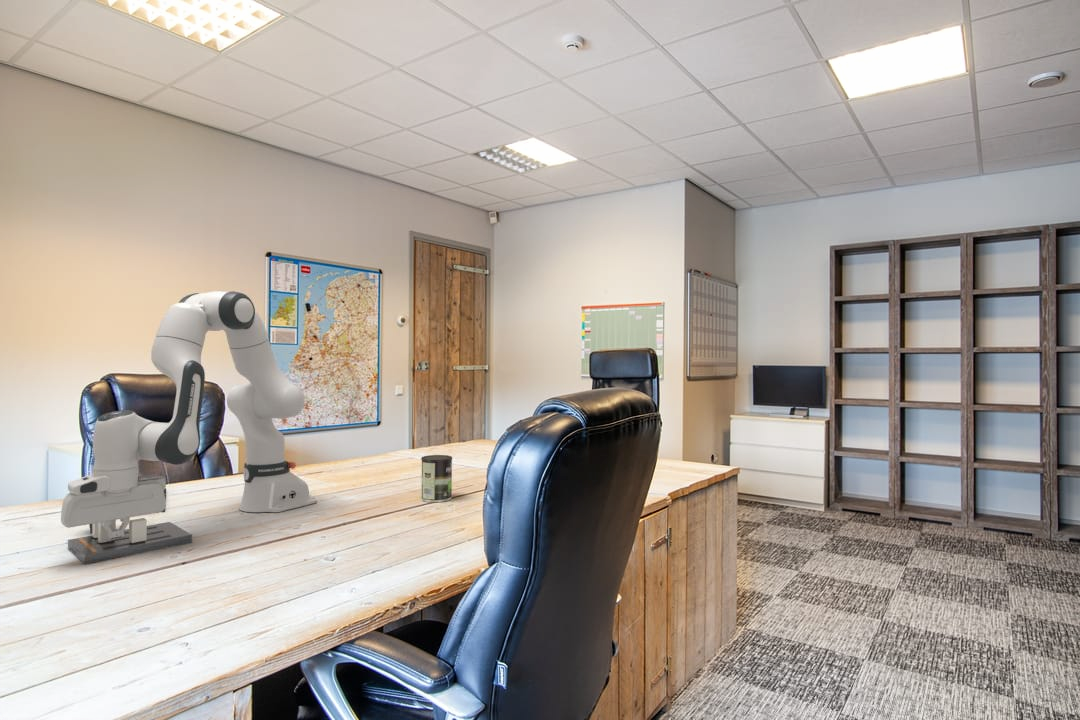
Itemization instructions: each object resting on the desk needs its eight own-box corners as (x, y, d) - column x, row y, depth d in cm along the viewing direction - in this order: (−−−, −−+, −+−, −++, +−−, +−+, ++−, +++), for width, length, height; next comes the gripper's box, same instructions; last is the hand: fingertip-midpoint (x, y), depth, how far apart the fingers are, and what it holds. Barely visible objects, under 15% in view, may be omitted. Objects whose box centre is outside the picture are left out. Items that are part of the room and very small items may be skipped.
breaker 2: (112, 538, 145) (113, 517, 145) (115, 540, 144) (115, 519, 144) (98, 540, 143) (98, 520, 143) (100, 542, 141) (100, 522, 141)
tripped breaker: (143, 538, 145) (143, 517, 145) (146, 540, 144) (146, 519, 144) (129, 540, 143) (129, 520, 143) (131, 543, 142) (132, 522, 142)
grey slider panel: (169, 529, 161) (169, 521, 161) (192, 542, 150) (192, 534, 150) (67, 548, 144) (67, 539, 144) (84, 564, 133) (84, 555, 133)
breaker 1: (106, 533, 149) (107, 513, 149) (109, 535, 147) (109, 515, 147) (92, 536, 147) (92, 516, 147) (94, 538, 145) (94, 517, 145)
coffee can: (454, 495, 204) (454, 454, 204) (449, 502, 193) (449, 459, 193) (424, 495, 204) (424, 454, 204) (417, 502, 194) (418, 459, 194)
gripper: (161, 471, 150) (161, 526, 150) (59, 484, 135) (59, 544, 135) (169, 475, 146) (169, 531, 146) (65, 488, 130) (65, 551, 131)
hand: (115, 537), depth 140 cm, fingers closed
